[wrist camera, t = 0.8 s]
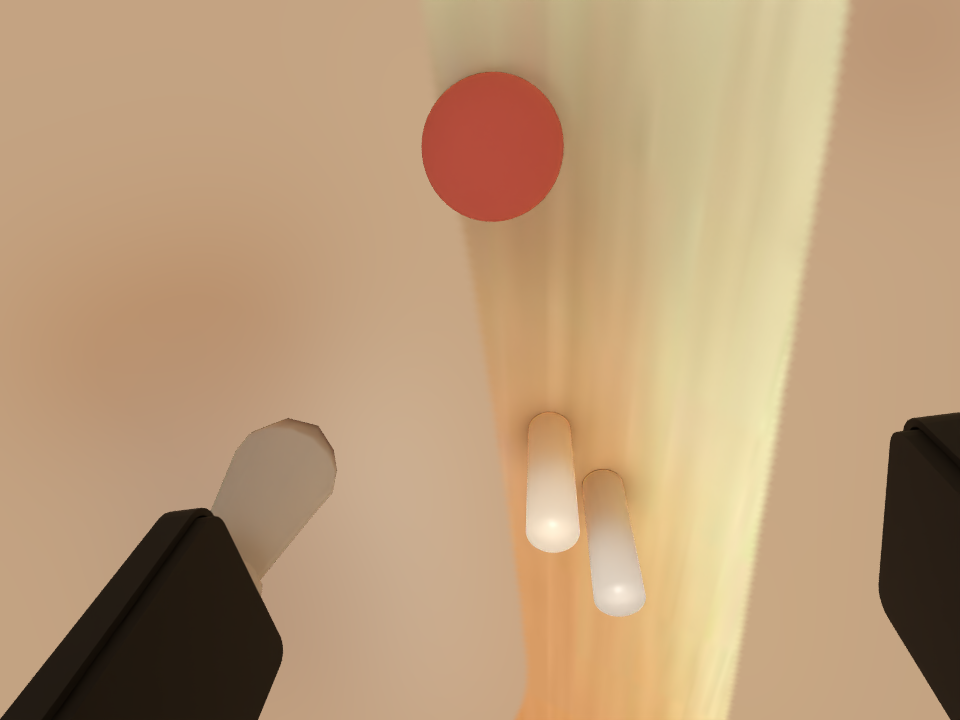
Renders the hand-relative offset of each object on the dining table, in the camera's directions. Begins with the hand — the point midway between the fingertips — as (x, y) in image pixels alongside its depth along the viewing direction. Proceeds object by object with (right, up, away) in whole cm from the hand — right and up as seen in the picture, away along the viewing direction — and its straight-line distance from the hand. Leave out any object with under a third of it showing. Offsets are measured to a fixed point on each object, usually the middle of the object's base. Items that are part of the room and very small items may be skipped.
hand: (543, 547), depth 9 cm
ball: (0, +12, +18) cm, 21 cm away
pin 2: (+6, -5, +28) cm, 30 cm away
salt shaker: (-12, -3, +29) cm, 32 cm away
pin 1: (+3, -1, +27) cm, 27 cm away
